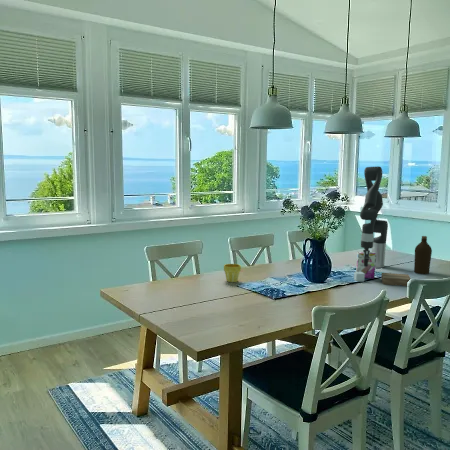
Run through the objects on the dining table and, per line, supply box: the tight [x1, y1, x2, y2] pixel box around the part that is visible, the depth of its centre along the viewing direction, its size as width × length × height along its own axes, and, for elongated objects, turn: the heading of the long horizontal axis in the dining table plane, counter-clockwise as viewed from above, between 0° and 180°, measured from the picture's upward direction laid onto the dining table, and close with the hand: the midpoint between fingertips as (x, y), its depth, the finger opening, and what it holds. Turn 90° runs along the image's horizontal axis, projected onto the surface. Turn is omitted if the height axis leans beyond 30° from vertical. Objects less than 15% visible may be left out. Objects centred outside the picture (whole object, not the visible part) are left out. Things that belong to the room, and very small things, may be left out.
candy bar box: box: [355, 251, 376, 279], centre depth 300 cm, size 11×5×16 cm, turn 84°
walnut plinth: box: [380, 272, 412, 287], centre depth 290 cm, size 14×16×4 cm
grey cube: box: [353, 271, 365, 282], centre depth 293 cm, size 5×5×5 cm
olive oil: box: [413, 235, 433, 275], centre depth 315 cm, size 11×11×25 cm
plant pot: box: [223, 263, 242, 283], centre depth 286 cm, size 10×10×10 cm
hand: (365, 265), depth 300 cm, fingers open, 8 cm apart
